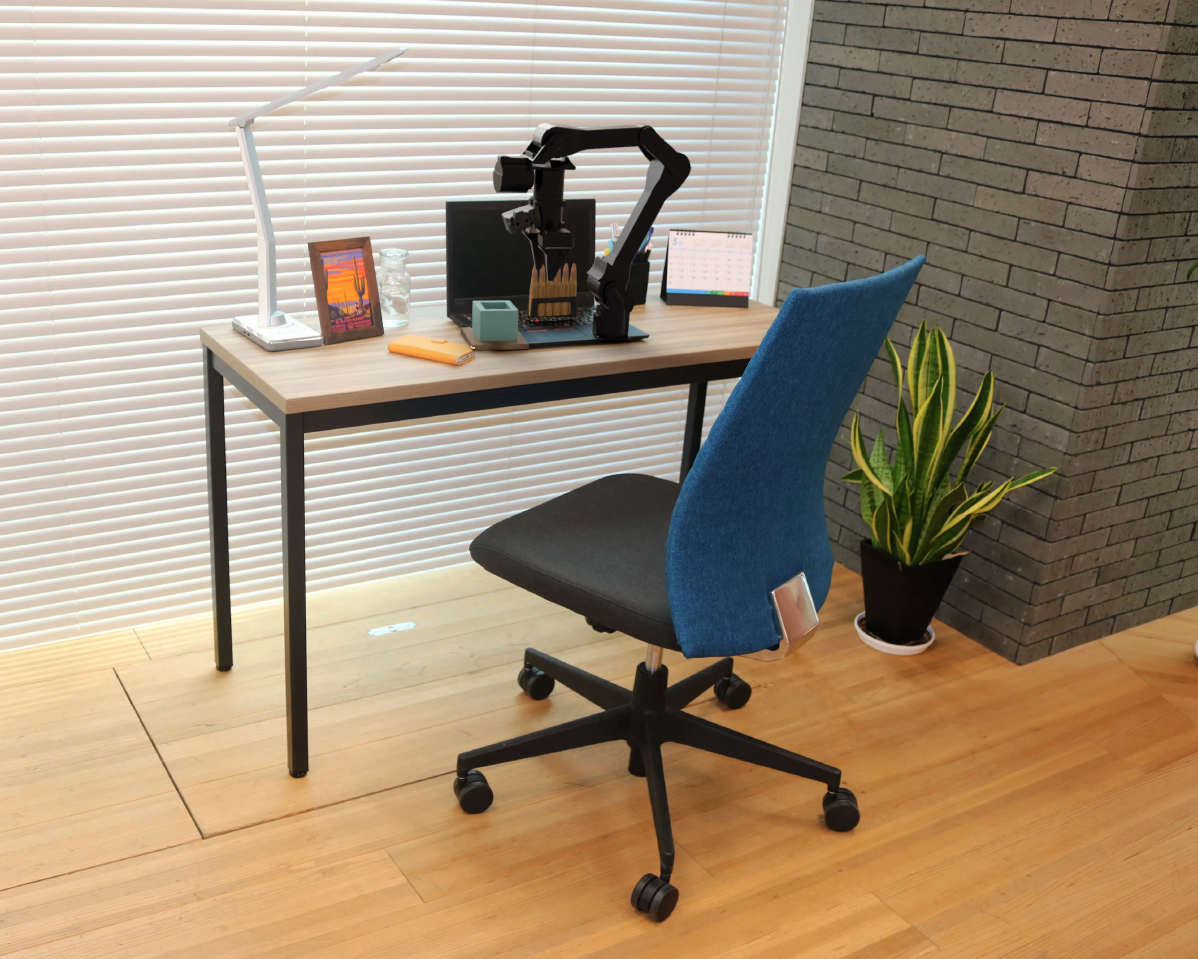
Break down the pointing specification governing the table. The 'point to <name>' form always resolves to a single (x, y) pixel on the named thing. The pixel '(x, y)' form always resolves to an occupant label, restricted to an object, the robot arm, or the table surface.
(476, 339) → the post base
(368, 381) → the table surface
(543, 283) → the ammunition clip
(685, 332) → the table surface
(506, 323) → the collar
